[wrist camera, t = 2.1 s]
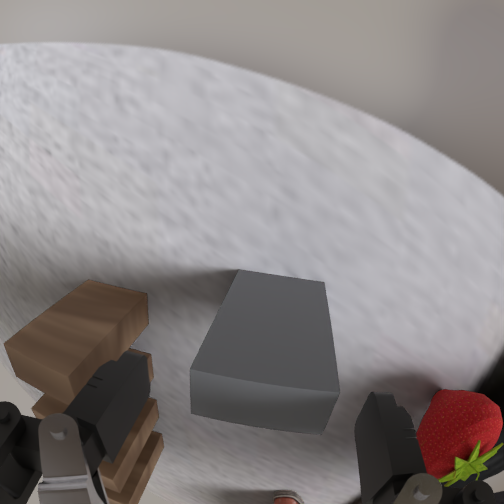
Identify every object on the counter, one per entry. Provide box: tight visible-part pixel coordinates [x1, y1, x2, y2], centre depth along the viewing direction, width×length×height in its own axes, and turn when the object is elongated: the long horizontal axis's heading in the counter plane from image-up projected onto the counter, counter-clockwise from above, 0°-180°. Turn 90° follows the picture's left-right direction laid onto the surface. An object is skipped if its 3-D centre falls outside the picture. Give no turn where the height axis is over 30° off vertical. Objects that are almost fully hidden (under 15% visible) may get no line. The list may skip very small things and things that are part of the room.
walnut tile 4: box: [4, 280, 149, 405], centre depth 16 cm, size 2×5×9 cm, turn 84°
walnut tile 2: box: [99, 397, 159, 493], centre depth 19 cm, size 2×5×9 cm, turn 84°
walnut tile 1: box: [104, 431, 164, 504], centre depth 21 cm, size 2×5×9 cm, turn 84°
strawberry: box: [416, 389, 503, 487], centre depth 14 cm, size 6×8×10 cm
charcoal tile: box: [190, 270, 340, 435], centre depth 14 cm, size 2×5×9 cm, turn 84°
